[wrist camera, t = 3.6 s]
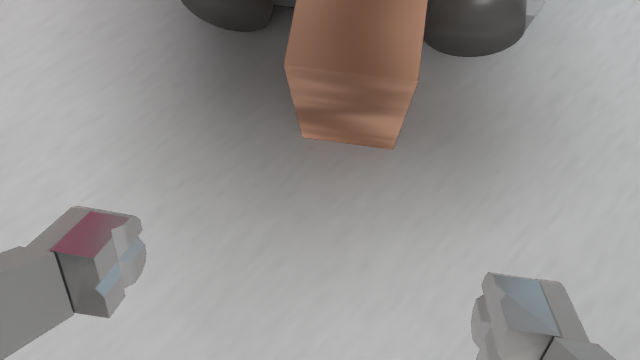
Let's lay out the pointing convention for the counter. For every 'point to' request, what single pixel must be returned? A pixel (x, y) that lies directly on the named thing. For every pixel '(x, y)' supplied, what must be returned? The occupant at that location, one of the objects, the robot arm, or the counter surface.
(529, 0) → the chassis
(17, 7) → the counter surface
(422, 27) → the brown rectangular block
